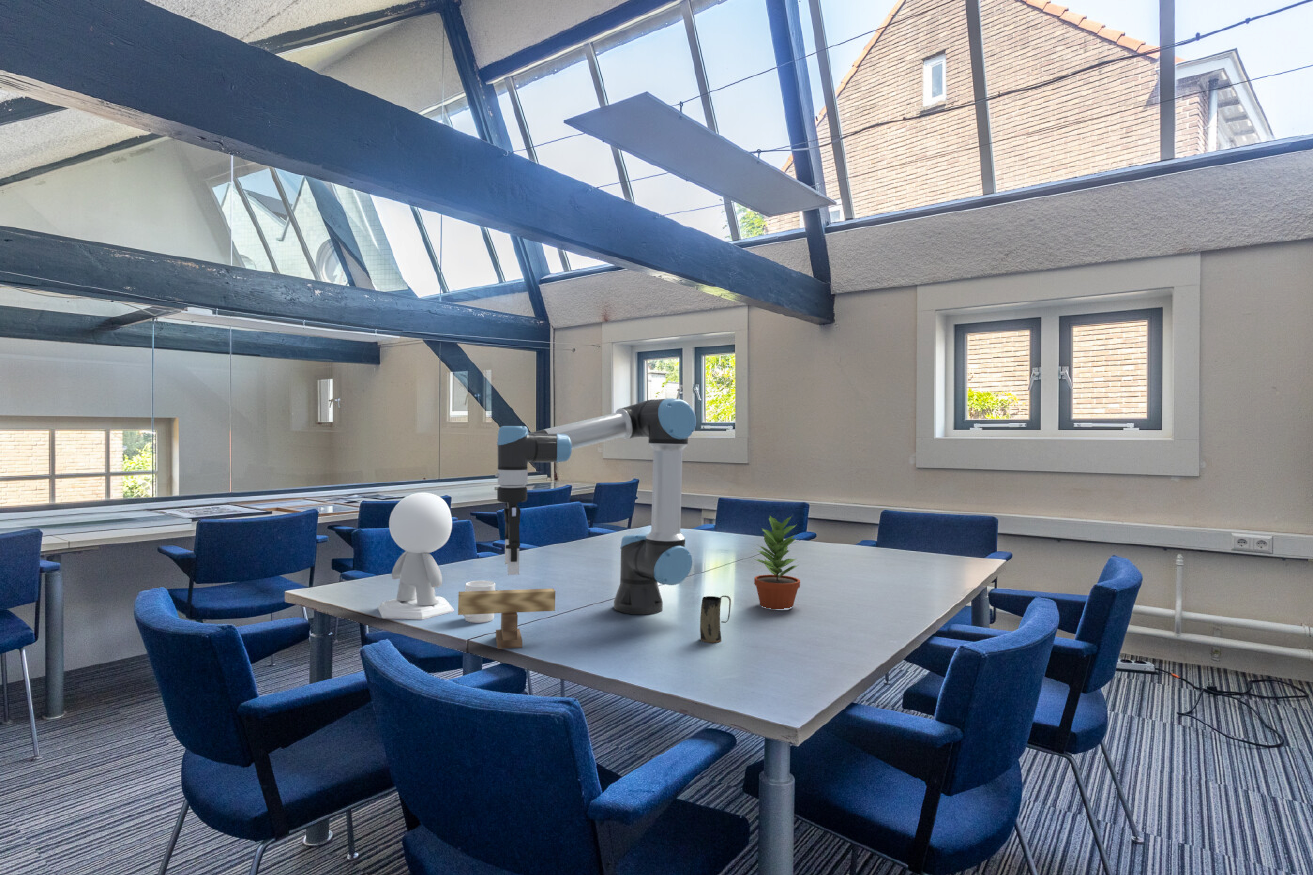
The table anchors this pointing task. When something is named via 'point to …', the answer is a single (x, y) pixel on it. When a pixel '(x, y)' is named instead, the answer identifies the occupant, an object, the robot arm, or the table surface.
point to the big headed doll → (418, 557)
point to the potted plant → (777, 569)
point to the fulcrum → (508, 632)
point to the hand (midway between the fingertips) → (511, 569)
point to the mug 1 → (479, 587)
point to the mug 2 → (711, 619)
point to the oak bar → (506, 601)
